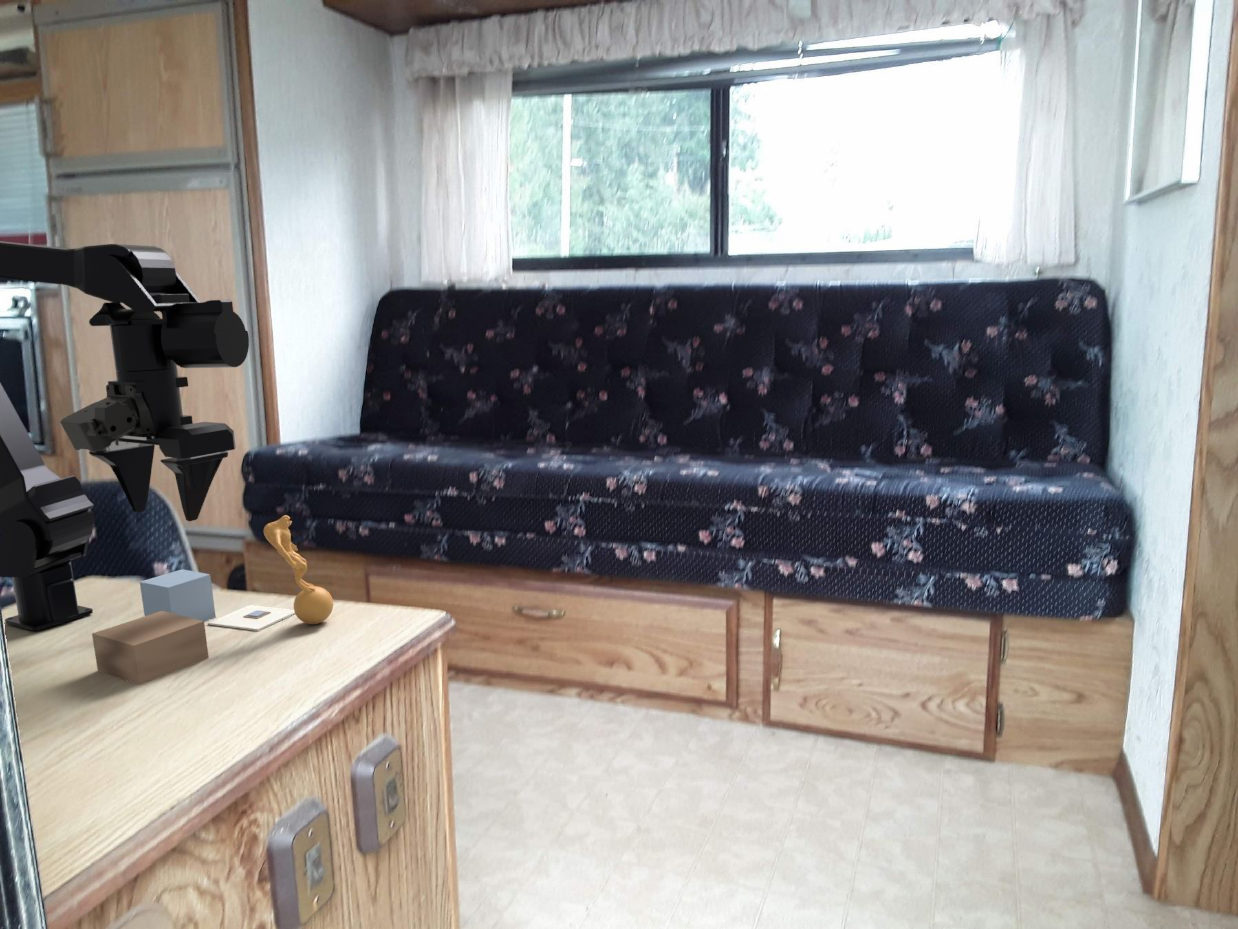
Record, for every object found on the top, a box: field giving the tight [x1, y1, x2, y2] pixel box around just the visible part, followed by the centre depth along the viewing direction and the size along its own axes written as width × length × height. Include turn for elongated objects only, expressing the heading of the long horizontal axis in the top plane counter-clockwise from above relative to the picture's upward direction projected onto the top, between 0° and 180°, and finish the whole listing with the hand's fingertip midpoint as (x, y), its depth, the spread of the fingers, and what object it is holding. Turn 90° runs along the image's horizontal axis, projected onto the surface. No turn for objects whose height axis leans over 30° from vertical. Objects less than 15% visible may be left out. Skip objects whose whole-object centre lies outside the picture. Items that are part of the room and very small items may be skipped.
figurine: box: [263, 514, 334, 625], centre depth 98 cm, size 8×6×12 cm
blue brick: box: [139, 568, 217, 622], centre depth 102 cm, size 5×5×5 cm
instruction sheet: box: [207, 604, 296, 632], centre depth 102 cm, size 7×6×1 cm
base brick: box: [91, 611, 210, 686], centre depth 90 cm, size 7×7×4 cm
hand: (165, 516), depth 100 cm, fingers open, 9 cm apart
